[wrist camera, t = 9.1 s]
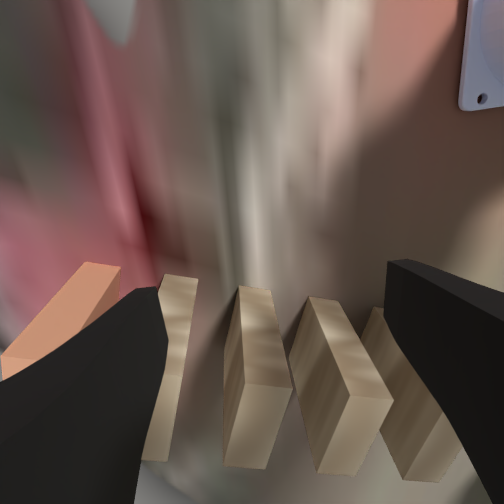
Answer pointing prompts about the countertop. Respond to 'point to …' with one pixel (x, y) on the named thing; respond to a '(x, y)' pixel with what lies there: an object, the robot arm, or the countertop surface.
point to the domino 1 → (64, 315)
